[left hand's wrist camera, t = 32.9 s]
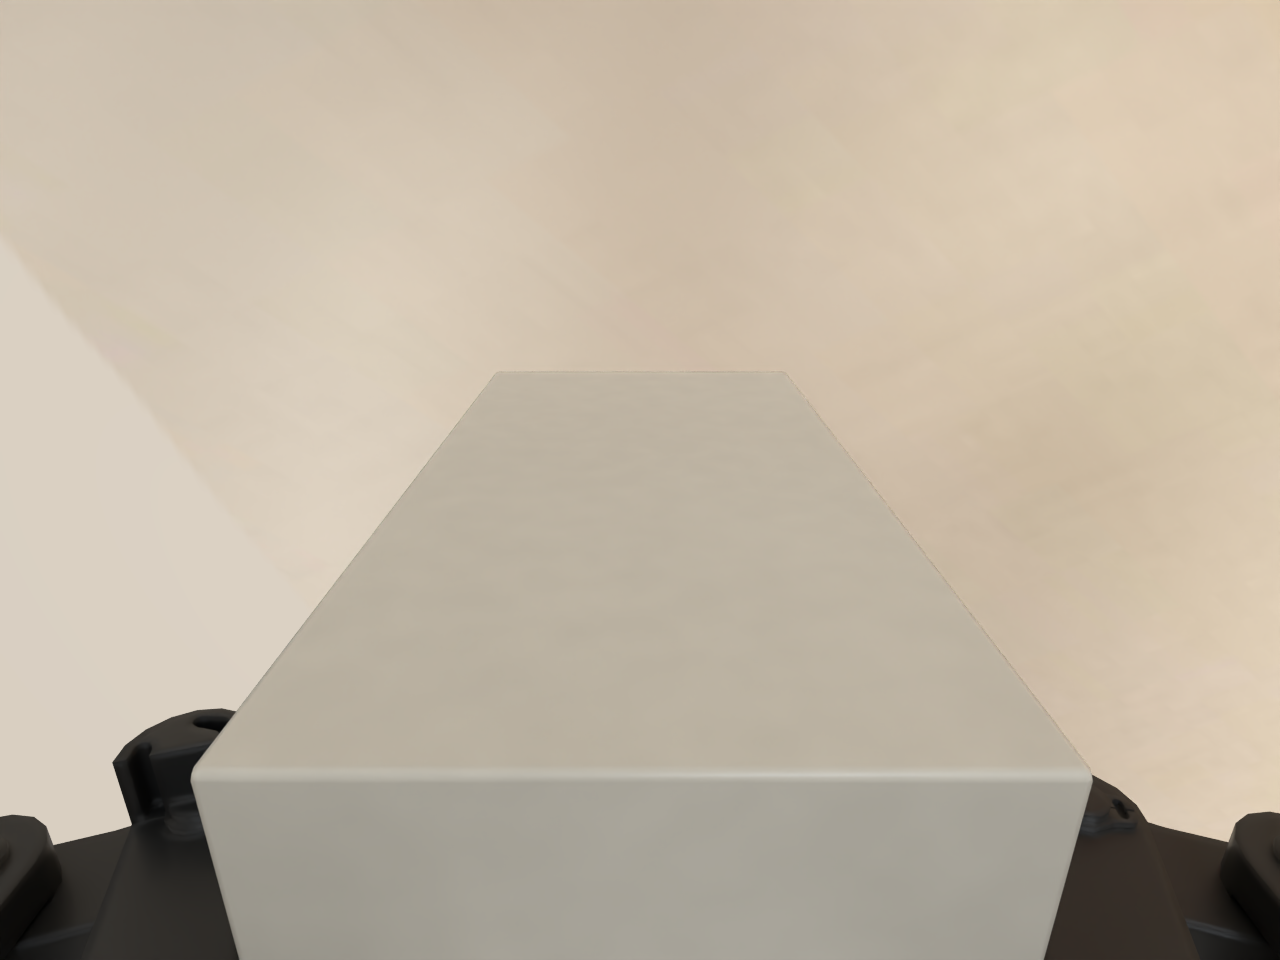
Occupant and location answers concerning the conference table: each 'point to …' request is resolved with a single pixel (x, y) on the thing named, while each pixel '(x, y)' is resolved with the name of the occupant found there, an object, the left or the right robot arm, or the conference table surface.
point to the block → (641, 710)
